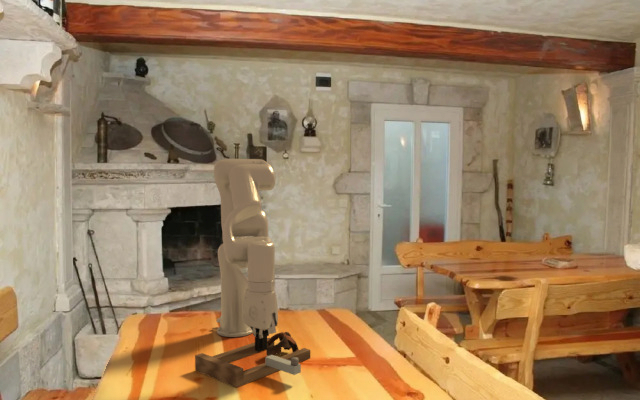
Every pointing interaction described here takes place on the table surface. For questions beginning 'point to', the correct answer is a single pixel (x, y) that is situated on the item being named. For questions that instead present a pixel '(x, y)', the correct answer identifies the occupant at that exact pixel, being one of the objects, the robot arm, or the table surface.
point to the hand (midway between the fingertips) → (261, 350)
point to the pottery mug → (281, 343)
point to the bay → (234, 374)
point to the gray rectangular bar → (284, 364)
